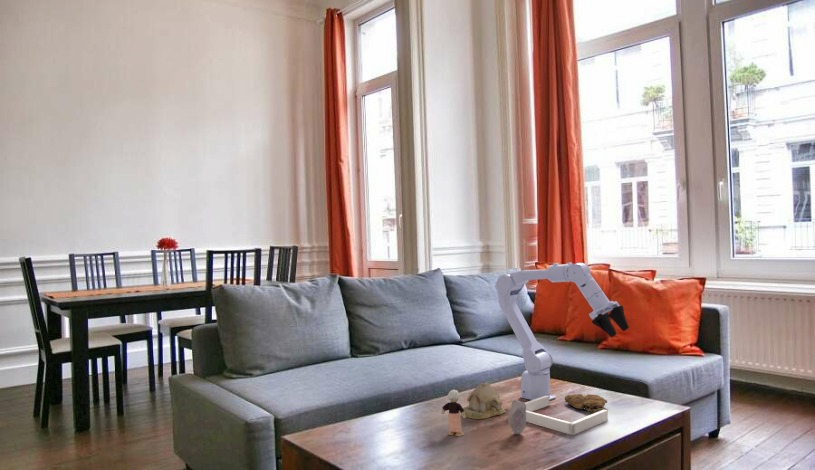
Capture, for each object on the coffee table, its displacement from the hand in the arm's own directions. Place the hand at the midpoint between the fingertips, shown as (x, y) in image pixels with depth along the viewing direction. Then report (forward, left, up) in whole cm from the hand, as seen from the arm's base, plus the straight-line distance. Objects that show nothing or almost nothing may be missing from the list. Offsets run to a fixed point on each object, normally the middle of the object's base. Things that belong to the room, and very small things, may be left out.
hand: (620, 332), depth 186 cm
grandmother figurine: (-24, -50, -25) cm, 61 cm away
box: (-11, -18, -25) cm, 33 cm away
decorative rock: (-11, -2, -26) cm, 28 cm away
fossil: (-11, -38, -25) cm, 47 cm away
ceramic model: (-30, -30, -25) cm, 50 cm away
